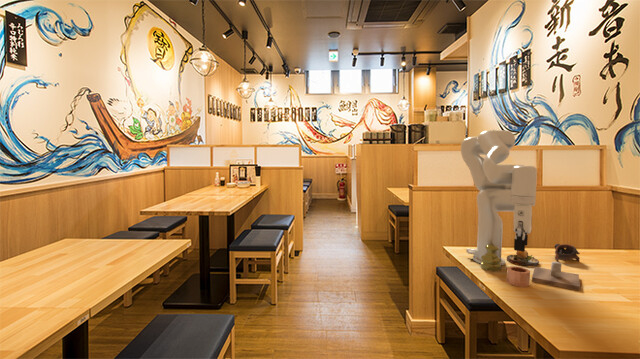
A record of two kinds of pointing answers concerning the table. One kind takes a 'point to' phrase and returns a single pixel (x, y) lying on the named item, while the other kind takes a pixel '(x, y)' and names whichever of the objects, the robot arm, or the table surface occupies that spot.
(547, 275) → the post stand
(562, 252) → the pottery mug
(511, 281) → the ring
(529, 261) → the burger
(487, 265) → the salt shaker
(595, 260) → the table surface
